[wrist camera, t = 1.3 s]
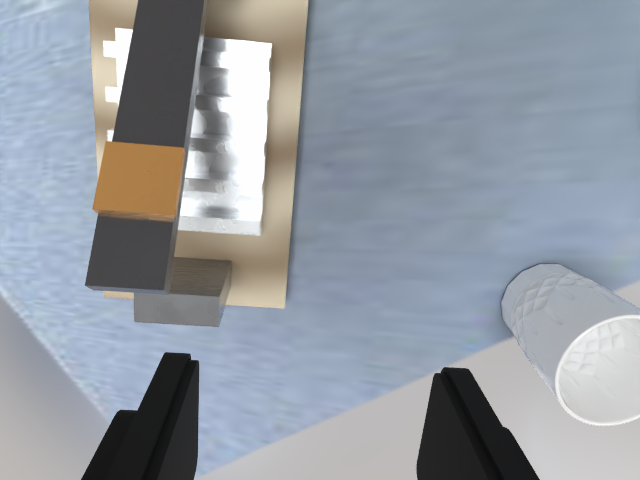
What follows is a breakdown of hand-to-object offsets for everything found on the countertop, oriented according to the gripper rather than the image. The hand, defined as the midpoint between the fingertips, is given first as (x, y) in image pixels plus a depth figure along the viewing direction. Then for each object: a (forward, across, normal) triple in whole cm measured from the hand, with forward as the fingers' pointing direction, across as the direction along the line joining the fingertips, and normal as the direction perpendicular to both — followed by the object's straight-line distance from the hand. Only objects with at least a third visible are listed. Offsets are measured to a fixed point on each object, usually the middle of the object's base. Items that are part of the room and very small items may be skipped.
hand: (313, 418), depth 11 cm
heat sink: (+23, +7, -4) cm, 25 cm away
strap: (+15, +7, -6) cm, 17 cm away
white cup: (+26, -20, +8) cm, 34 cm away
